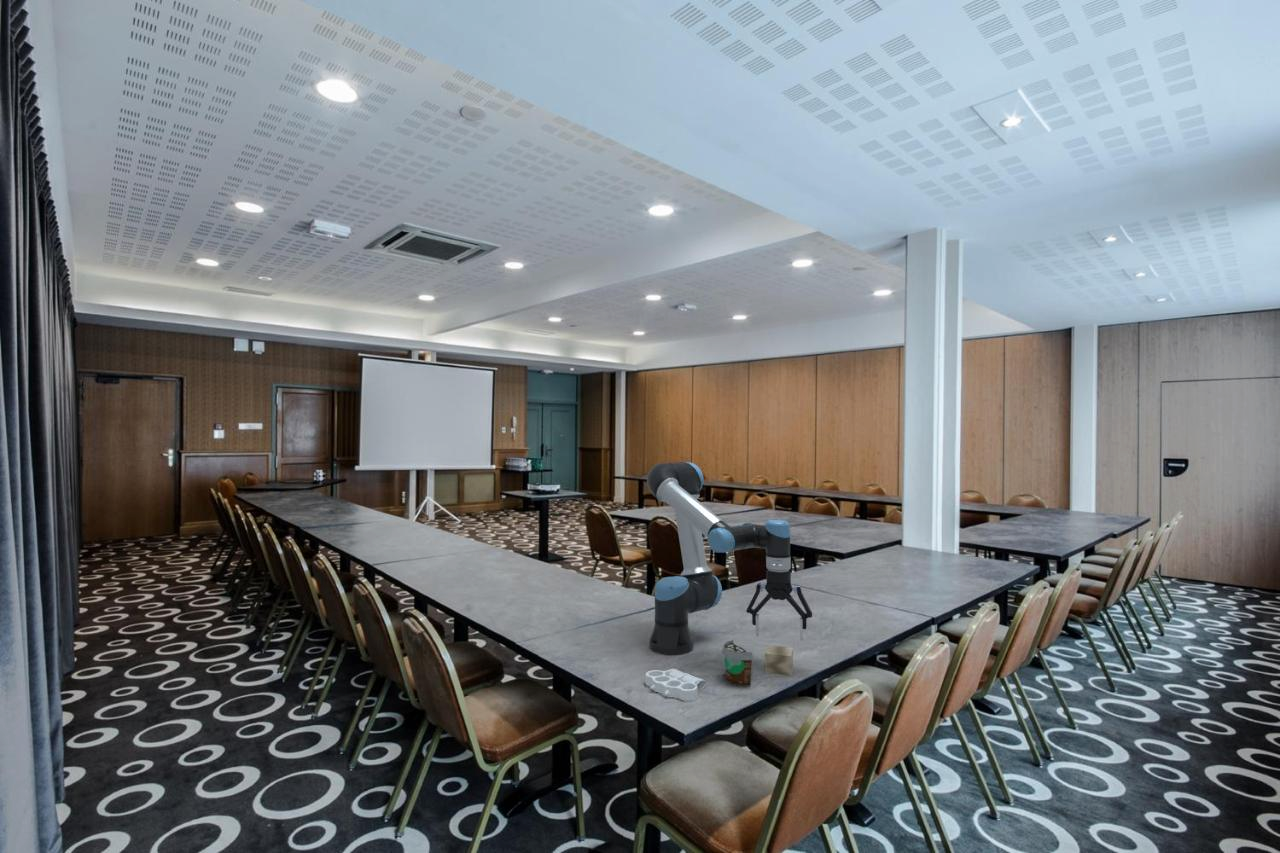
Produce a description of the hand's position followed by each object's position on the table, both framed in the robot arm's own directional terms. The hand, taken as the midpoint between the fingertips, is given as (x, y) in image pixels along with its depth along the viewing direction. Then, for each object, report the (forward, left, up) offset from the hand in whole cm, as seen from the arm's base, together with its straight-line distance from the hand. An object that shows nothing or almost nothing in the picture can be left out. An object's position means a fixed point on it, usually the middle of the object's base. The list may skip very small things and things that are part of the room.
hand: (779, 637), depth 192 cm
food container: (-12, -14, -10) cm, 21 cm away
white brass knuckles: (-28, -25, -11) cm, 39 cm away
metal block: (0, 0, -10) cm, 10 cm away
